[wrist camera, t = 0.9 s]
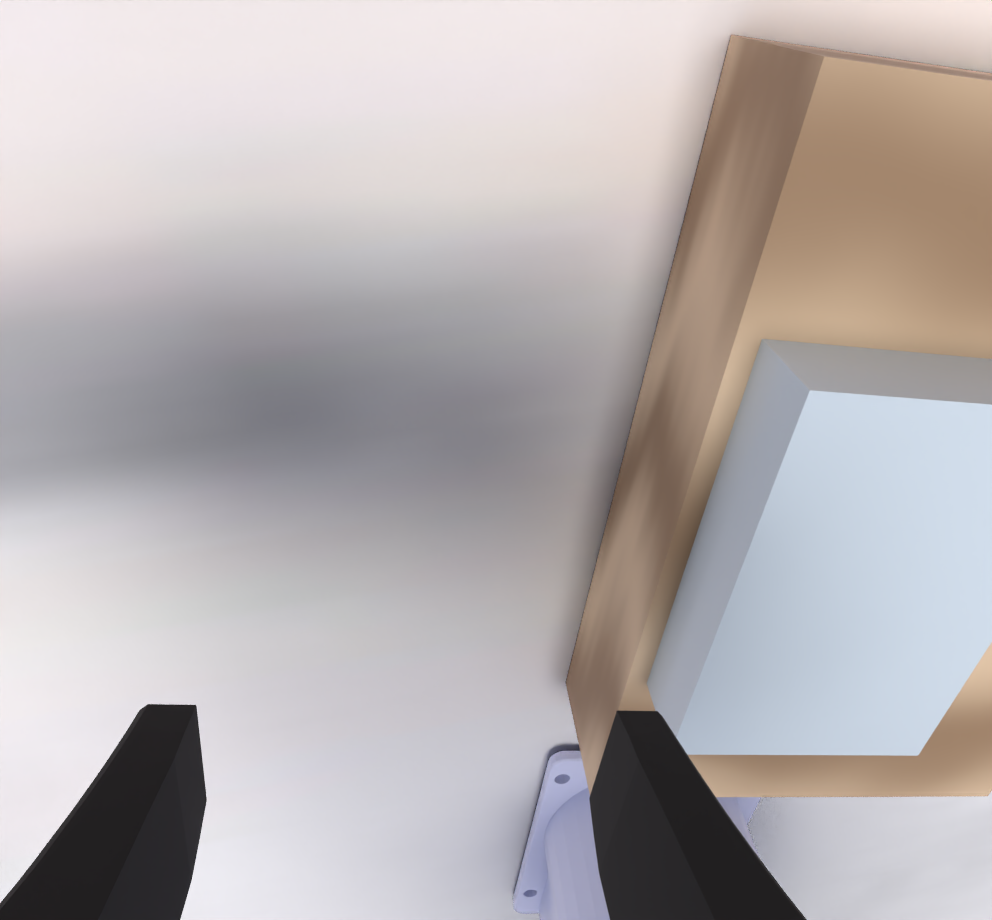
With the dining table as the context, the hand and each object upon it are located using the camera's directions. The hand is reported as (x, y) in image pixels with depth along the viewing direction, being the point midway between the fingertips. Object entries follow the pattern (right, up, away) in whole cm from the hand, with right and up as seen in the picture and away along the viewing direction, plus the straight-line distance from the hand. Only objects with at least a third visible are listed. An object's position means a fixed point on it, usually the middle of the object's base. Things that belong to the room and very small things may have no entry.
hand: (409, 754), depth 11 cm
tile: (+8, +2, +6) cm, 10 cm away
